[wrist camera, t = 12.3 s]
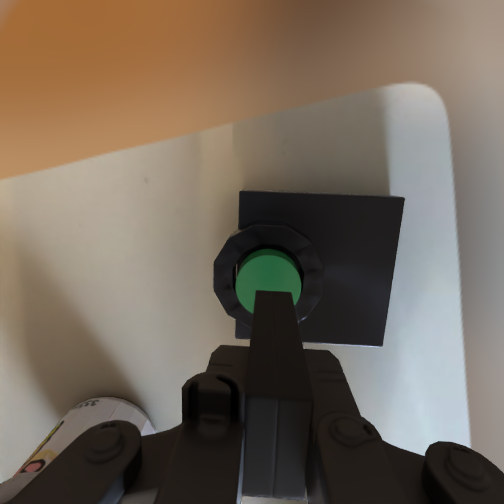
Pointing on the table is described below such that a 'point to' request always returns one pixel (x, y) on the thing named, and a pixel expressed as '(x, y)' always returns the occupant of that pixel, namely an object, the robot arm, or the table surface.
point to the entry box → (320, 260)
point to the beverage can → (74, 436)
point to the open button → (266, 276)
